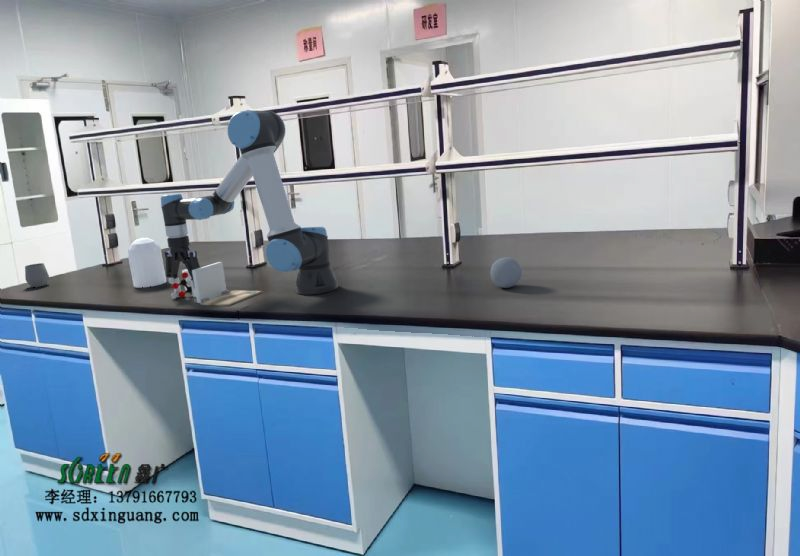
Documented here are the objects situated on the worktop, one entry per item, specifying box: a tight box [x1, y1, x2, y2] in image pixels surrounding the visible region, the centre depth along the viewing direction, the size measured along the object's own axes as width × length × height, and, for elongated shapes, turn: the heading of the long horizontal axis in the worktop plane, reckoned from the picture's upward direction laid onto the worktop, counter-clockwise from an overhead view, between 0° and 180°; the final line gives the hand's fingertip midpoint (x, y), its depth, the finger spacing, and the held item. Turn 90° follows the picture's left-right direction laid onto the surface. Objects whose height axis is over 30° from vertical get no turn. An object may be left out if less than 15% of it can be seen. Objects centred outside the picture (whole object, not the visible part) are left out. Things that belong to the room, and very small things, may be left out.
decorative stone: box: [489, 256, 522, 289], centre depth 200 cm, size 10×10×10 cm
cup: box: [24, 262, 50, 288], centre depth 281 cm, size 10×9×10 cm
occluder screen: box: [192, 261, 231, 304], centre depth 225 cm, size 5×14×12 cm, turn 154°
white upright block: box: [181, 268, 192, 292], centre depth 243 cm, size 6×6×8 cm
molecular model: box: [167, 272, 193, 299], centre depth 231 cm, size 16×8×10 cm, turn 148°
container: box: [127, 237, 167, 289], centre depth 262 cm, size 14×13×20 cm
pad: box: [199, 289, 263, 307], centre depth 222 cm, size 13×18×1 cm
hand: (187, 295), depth 231 cm, fingers closed on molecular model, 8 cm apart
